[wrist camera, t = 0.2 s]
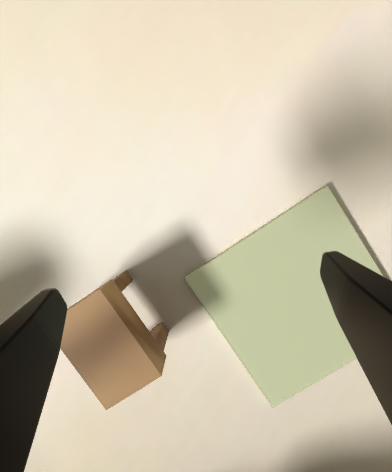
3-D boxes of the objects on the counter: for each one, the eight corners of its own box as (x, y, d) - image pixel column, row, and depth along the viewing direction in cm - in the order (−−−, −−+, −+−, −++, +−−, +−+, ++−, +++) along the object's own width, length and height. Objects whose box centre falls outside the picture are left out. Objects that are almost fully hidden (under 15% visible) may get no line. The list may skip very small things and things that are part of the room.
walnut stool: (171, 331, 25) (161, 375, 18) (130, 357, 25) (106, 410, 19) (126, 267, 24) (99, 289, 18) (85, 294, 25) (44, 326, 18)
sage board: (408, 321, 24) (413, 324, 24) (270, 402, 25) (272, 407, 25) (324, 186, 23) (327, 185, 23) (185, 277, 24) (184, 278, 24)
